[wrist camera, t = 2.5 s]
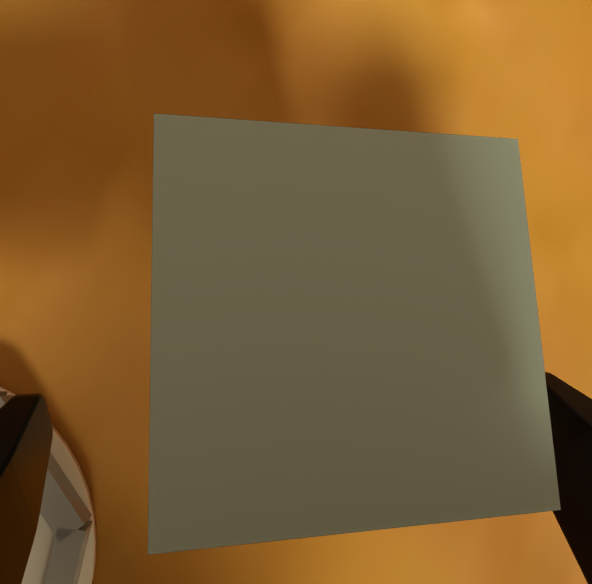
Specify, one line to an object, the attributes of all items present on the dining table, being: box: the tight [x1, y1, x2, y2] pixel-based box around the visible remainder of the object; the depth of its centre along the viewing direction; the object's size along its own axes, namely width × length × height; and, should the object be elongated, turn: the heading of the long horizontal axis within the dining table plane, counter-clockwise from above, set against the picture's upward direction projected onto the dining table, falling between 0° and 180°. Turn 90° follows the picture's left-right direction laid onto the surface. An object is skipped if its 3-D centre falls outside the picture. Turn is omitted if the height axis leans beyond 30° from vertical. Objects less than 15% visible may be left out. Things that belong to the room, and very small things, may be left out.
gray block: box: [148, 113, 561, 555], centre depth 12 cm, size 5×5×12 cm
